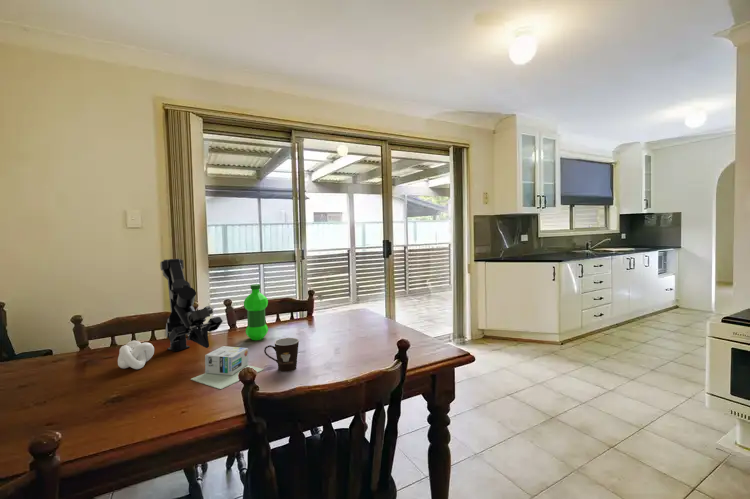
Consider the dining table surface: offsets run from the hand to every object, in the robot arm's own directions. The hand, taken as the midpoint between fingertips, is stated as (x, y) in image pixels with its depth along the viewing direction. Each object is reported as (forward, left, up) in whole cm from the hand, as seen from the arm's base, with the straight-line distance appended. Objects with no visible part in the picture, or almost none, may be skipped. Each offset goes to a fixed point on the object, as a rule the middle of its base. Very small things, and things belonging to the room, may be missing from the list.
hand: (207, 347), depth 134 cm
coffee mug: (+24, +14, -8) cm, 29 cm away
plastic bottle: (-12, +34, -8) cm, 37 cm away
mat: (+11, 0, -8) cm, 14 cm away
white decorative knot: (-26, -11, -8) cm, 30 cm away
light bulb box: (+2, +1, -4) cm, 5 cm away
